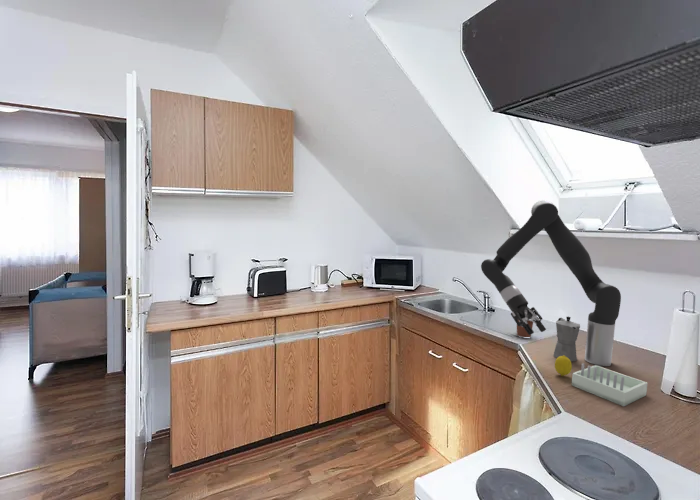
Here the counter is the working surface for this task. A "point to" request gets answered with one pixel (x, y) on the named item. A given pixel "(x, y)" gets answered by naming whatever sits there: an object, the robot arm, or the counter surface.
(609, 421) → the counter surface
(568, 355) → the coffeepot
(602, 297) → the robot arm
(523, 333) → the coffee cup
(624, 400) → the dish rack
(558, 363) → the lemon
